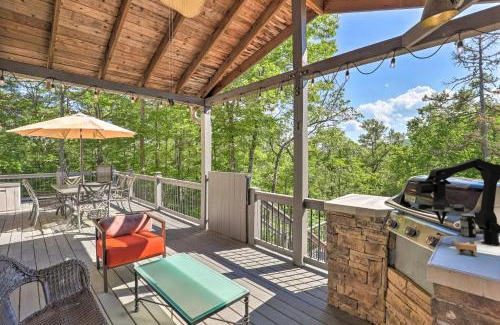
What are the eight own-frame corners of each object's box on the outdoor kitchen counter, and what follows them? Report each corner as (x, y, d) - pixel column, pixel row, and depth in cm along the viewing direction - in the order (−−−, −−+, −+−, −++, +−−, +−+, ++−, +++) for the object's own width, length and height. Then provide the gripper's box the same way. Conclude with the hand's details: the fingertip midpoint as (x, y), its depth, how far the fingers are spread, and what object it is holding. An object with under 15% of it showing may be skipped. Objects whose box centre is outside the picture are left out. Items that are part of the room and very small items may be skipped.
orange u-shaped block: (476, 256, 114) (476, 246, 115) (458, 253, 119) (457, 244, 119) (476, 254, 117) (476, 244, 117) (458, 251, 121) (457, 242, 121)
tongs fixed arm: (473, 256, 115) (473, 251, 115) (461, 254, 118) (461, 249, 118) (474, 245, 130) (474, 241, 130) (463, 244, 133) (463, 239, 133)
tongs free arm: (465, 252, 120) (465, 248, 120) (459, 251, 121) (459, 247, 121) (456, 243, 134) (456, 239, 134) (452, 243, 135) (451, 239, 135)
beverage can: (475, 235, 147) (473, 213, 148) (477, 238, 142) (476, 215, 142) (460, 234, 151) (458, 213, 151) (461, 237, 145) (460, 215, 146)
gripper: (415, 194, 135) (417, 225, 134) (462, 195, 122) (464, 229, 122) (419, 192, 143) (421, 221, 143) (463, 193, 131) (465, 225, 130)
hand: (441, 224), depth 134 cm, fingers closed
